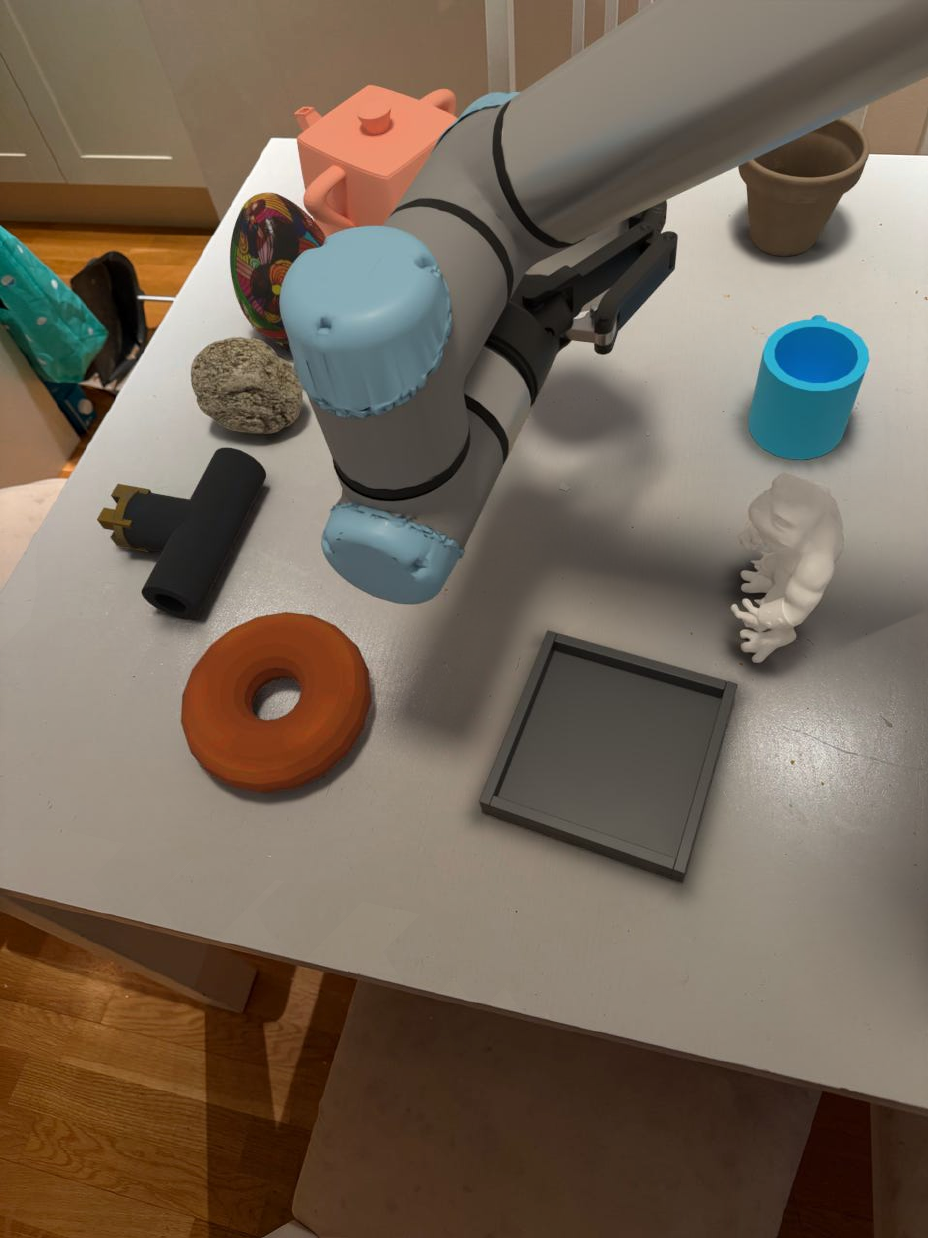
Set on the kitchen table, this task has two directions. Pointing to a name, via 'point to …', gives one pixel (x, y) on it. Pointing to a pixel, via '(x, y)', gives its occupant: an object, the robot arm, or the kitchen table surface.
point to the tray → (611, 753)
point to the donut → (294, 741)
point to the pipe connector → (187, 529)
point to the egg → (268, 257)
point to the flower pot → (802, 186)
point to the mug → (807, 388)
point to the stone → (246, 386)
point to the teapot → (367, 153)
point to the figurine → (788, 559)
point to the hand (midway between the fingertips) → (591, 168)
